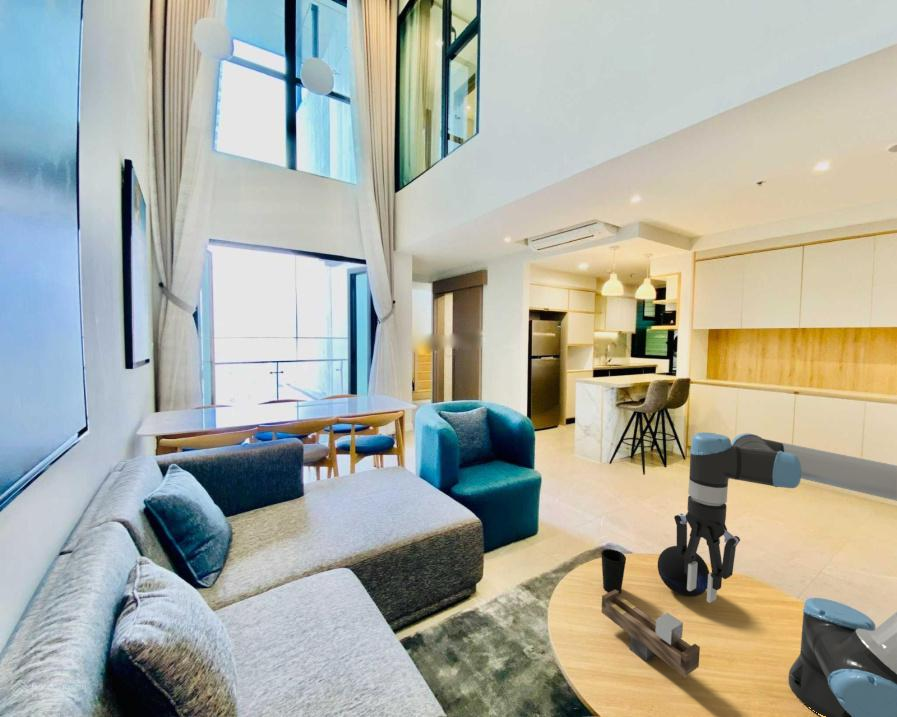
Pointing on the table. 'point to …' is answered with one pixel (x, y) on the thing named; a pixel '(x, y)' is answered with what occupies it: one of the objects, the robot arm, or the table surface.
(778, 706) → the table surface
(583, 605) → the table surface
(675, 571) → the decorative sphere
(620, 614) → the beam
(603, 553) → the cup
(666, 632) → the block
